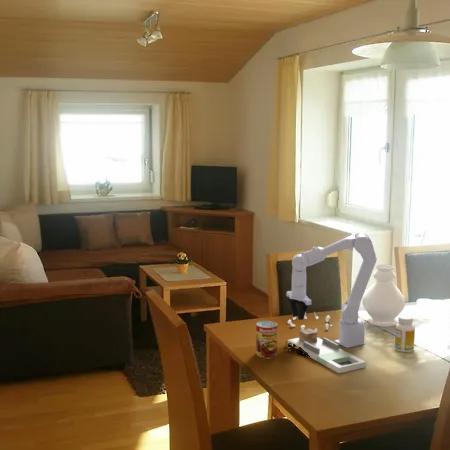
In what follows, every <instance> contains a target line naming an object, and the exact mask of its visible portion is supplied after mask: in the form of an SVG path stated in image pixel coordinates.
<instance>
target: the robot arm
mask: <svg viewBox="0 0 450 450" xmlns="http://www.w3.org/2000/svg"><path fill="white" fill-rule="evenodd" d="M373 244H374V243H373V242H372V240H371V238H370V236H369V235H368V234H367V233H365V232H356V233H355V234H351V235H349V236H346V237H344V238H342V239H340V240H338V241H337V240H336V241H334V242H333V243H331V244H328V245H326V246H324V247H321V246H312V248H311V249H309V250H307V251H305V252H304V251H301V252H300V253H297V254H295V255H293V257H292V260H291V266H292V270H291V271H292V272H291V290H288V291H286V296H285V297H287V298H288V297H289V298H288V299H287V303H288V304H289V307H290V311H291V315H292V317H293V318H294V317H297V319H298V320H299V321H300V320H305V319H304V316H305V315H306V314H307V310H308V308H309V306H310V305H311V306H312V299H310V298H309V297H308V296H307V267H311V266H313V265H315V264H318V263H321V262H323V261H325V259H326V257H327V256H329V255H331V254H334V253H337V252H340V251H342V250H350V251H354V250H355V251H356V252H357V253H358V254H360V257H361V258H362V262H361V265H360V268H359V270H358V273H357V275H356V277H355V281H354V283H353V286H352V289H351V291H350V293H349V296H348V297H347V299H346V301H345V303H343V304H342V306H341V308H340V310H341V312H340V313H341V318H340V319H339V337H338V338H339V339H335V340H334V342H335V343H337V344H339V345H341V346H342V347H344V348H352V347H357V346H362V345H366V342H365V336H366V334H365V333H366V330H365V328H366V327H365V324H364V322H363V321H362V320H360V319H359V309H360V306H361V301H362V300H363V296H364V294H365V292H366V290H367V287H368V283H369V281H370V278H371V276H372V274H373V271H374V268H375V267H376V264H377V255H376V252H375V247H374V245H373ZM305 313H306V314H305Z"/></svg>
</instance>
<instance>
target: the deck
mask: <svg viewBox="0 0 450 450" xmlns="http://www.w3.org/2000/svg"><path fill="white" fill-rule="evenodd" d="M288 343H293V344H295V345H296V346H298V347H301V348H302V349H303V350H304V351H305V352H307V353H308V355H309V356H310V357H309V356H308V357H309V358H311V359H313V360H314V361H316V362H318V363H319V364H322V365H323V366H325V367H326V368H329V370H332V371H334V372H335V373H337V374H342V373H345V372H350V371H355V370H359V369H363V368H366V363H367V362H366V361H365V360H363V359H362V358H359V357H357V356H355V355H353V354H351V353H349V352H347V351H346V350H343V349H341V348H340V344H339V343H337V342H335V341H332V340H331V339H329V338H327V337H326V336H325V337H322V338H320V337H318V336H317V342H315V343H308V342H306V341H304V342H301V341H300V340H299V337H295V338H290V339H288V340H287V344H288Z"/></svg>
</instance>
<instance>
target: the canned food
mask: <svg viewBox="0 0 450 450" xmlns="http://www.w3.org/2000/svg"><path fill="white" fill-rule="evenodd" d="M255 325H256V328H255V331H256V332H255V355H256V354H257V355H258V356H261V357H273V358H275V357H277V356H276V355H278V323H277V322H275V321H274V320H273V321H272V320H260V321H257V322H256V324H255ZM257 355H256V356H257ZM258 356H257V357H258ZM274 356H275V357H274ZM261 357H260V358H261Z"/></svg>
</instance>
